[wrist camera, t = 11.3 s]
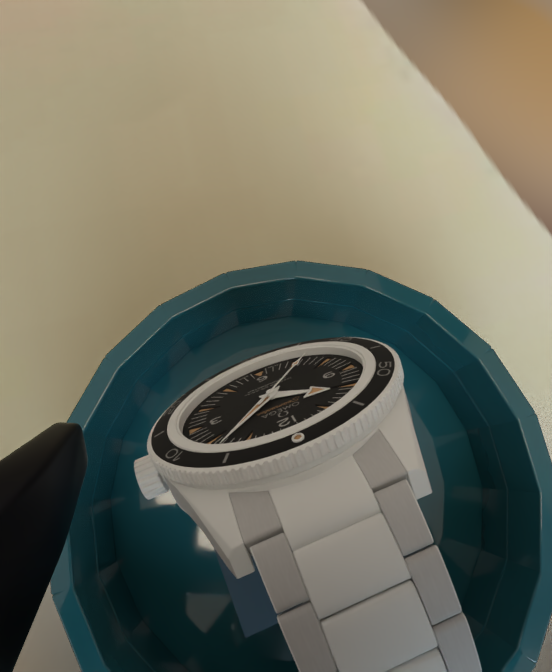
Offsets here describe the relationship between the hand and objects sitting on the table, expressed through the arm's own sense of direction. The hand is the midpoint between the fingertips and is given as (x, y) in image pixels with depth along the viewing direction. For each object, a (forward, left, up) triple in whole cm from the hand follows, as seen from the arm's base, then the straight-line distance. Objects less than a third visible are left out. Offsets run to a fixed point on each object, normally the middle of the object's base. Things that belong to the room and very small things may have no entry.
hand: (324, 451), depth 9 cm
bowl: (-1, 0, -9) cm, 9 cm away
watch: (-2, 0, -9) cm, 9 cm away
